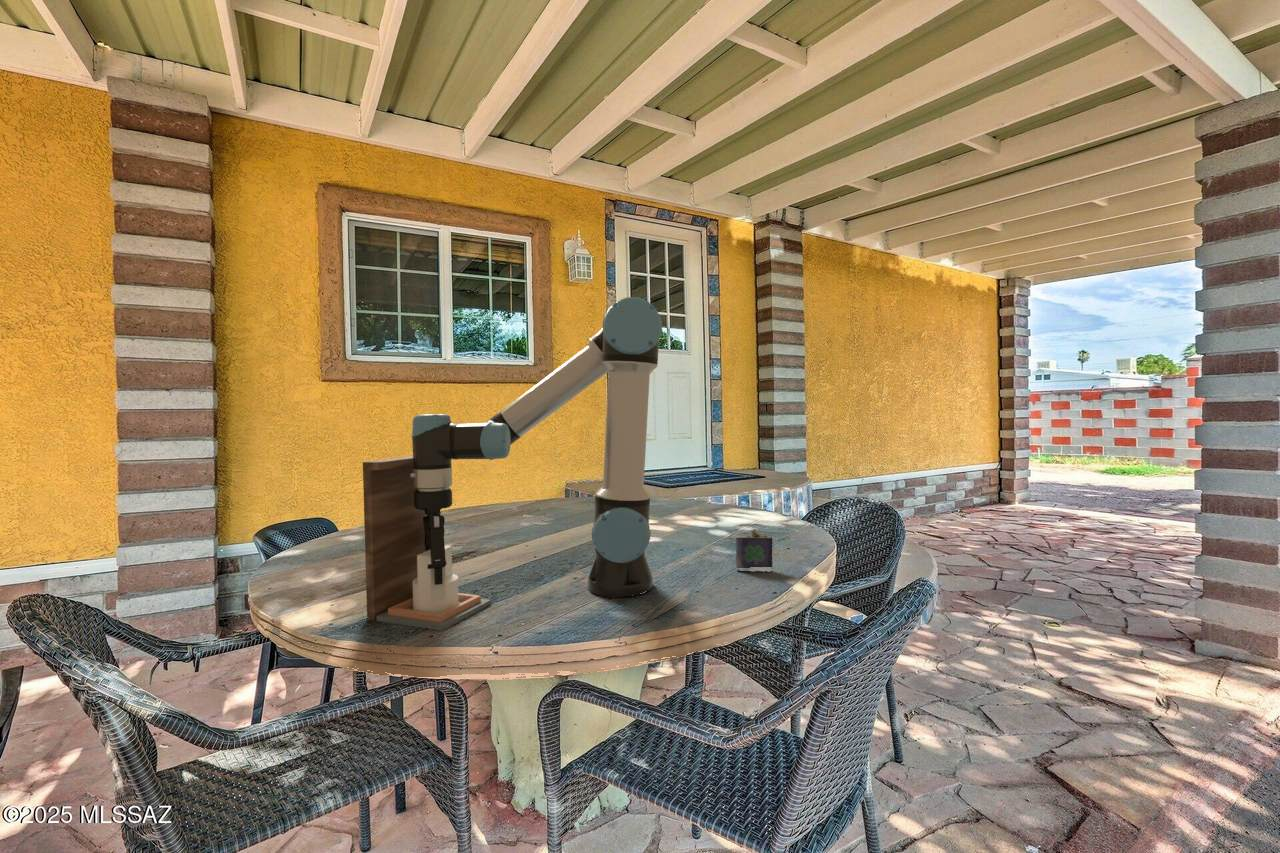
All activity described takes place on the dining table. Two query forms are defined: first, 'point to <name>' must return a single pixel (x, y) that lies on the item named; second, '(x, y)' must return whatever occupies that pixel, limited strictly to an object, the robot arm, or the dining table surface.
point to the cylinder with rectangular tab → (424, 585)
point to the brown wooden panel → (390, 533)
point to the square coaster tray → (435, 621)
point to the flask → (753, 550)
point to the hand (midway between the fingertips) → (435, 590)
